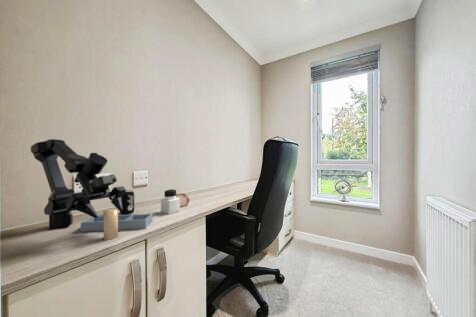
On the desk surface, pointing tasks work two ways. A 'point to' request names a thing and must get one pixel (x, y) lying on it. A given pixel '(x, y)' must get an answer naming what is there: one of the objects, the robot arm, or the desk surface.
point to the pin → (110, 224)
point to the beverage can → (127, 202)
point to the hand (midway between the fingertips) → (109, 213)
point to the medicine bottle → (170, 202)
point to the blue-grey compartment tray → (119, 222)
